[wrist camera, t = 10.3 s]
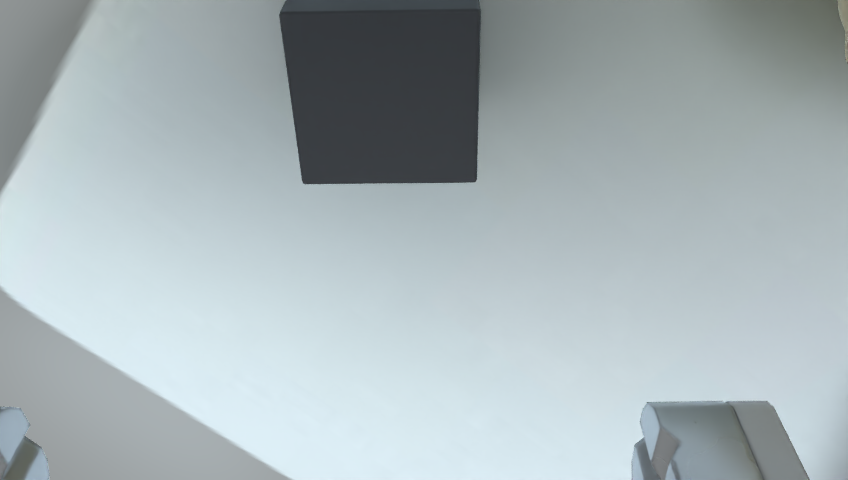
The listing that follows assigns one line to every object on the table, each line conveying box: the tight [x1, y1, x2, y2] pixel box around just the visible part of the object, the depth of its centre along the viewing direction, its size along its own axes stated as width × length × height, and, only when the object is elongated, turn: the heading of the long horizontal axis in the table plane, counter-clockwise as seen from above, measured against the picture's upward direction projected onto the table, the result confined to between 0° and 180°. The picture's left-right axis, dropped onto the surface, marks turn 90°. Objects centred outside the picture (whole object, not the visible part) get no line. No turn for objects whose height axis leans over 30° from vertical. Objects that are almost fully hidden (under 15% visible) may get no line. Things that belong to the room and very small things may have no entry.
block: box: [279, 0, 481, 184], centre depth 20 cm, size 4×4×4 cm
